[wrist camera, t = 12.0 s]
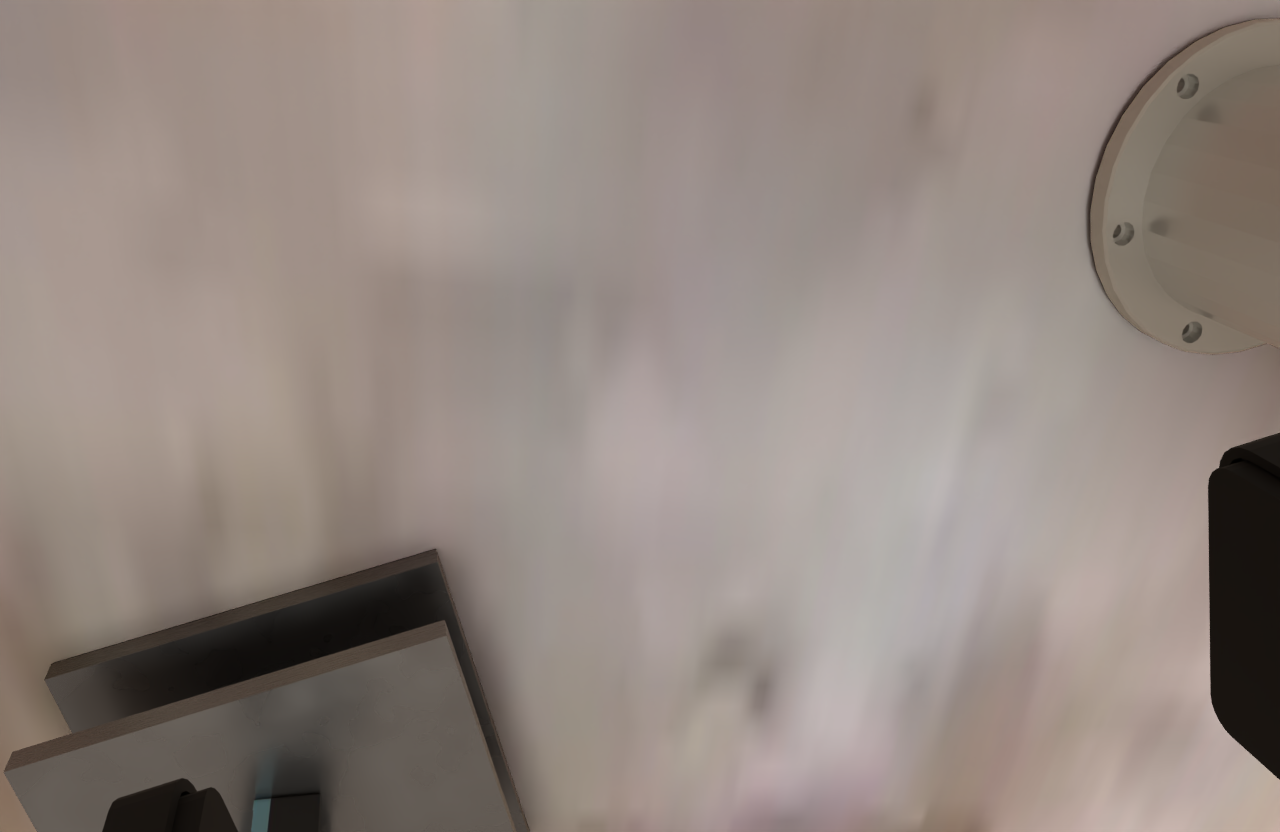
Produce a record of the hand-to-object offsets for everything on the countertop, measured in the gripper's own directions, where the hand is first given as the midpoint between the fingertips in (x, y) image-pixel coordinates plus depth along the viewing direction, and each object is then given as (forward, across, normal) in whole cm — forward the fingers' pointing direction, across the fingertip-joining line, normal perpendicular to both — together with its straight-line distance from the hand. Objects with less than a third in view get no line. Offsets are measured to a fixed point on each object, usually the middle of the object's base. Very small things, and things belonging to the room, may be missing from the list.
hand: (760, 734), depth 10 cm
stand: (+30, +12, +20) cm, 38 cm away
